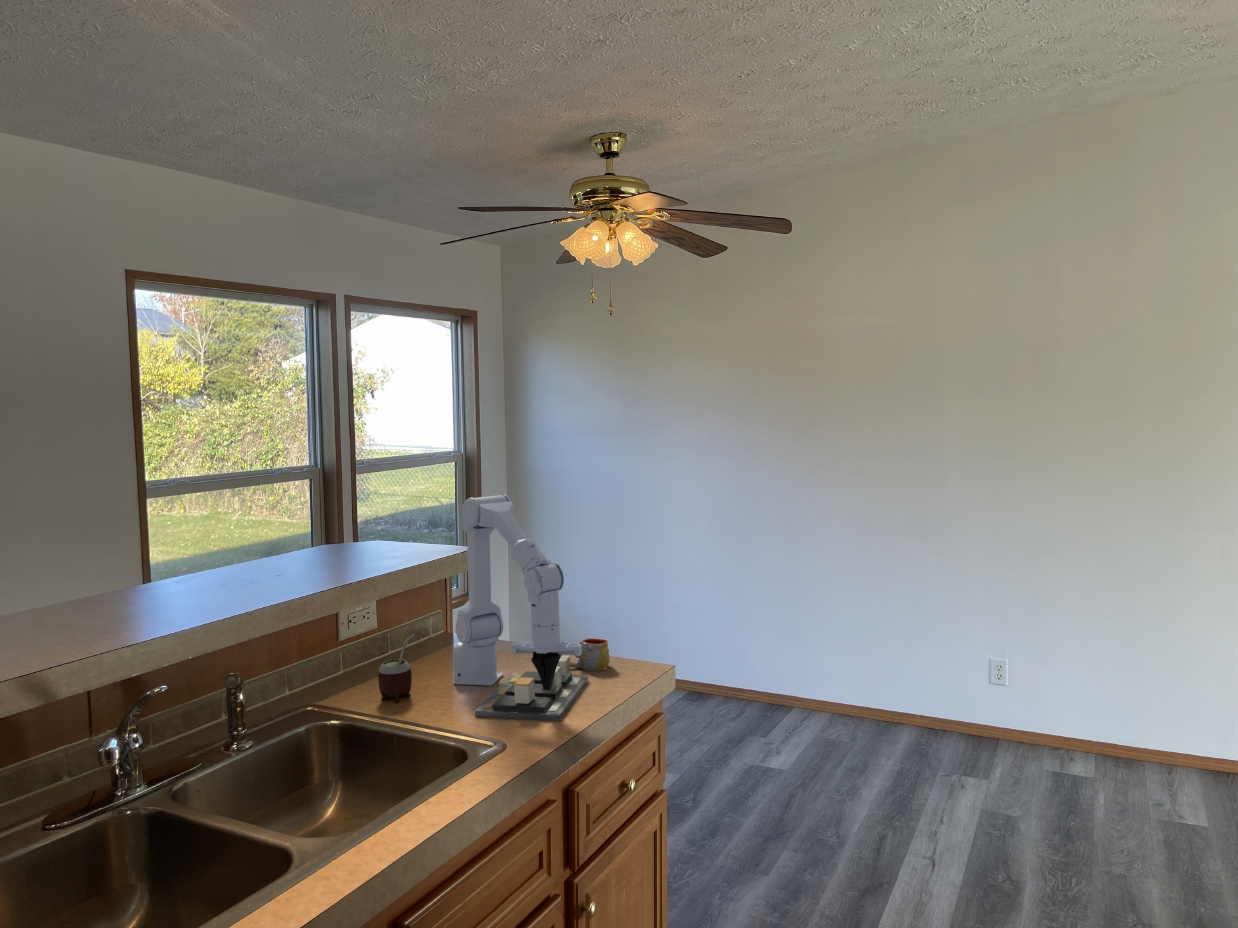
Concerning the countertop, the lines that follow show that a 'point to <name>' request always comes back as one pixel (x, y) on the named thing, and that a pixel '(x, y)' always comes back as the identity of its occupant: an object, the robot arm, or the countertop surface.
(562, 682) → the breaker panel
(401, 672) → the mate gourd
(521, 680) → the block
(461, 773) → the countertop surface
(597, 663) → the mug
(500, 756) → the countertop surface
